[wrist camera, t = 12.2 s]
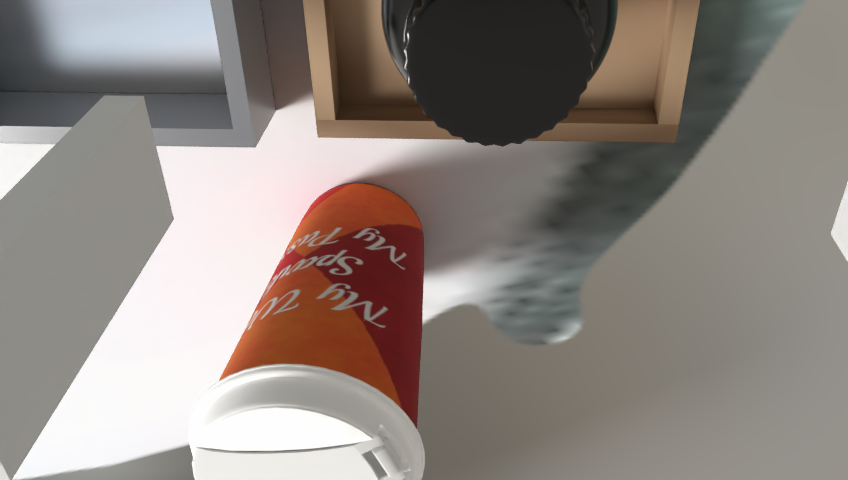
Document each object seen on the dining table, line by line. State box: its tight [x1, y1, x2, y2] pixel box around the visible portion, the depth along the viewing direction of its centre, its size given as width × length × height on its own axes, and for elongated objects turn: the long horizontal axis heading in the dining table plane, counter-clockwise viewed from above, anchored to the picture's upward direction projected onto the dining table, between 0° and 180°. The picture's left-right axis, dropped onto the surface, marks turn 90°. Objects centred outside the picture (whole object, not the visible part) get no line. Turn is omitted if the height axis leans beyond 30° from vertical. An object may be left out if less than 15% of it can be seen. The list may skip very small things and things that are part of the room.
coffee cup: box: [188, 183, 425, 480], centre depth 32 cm, size 8×8×15 cm
